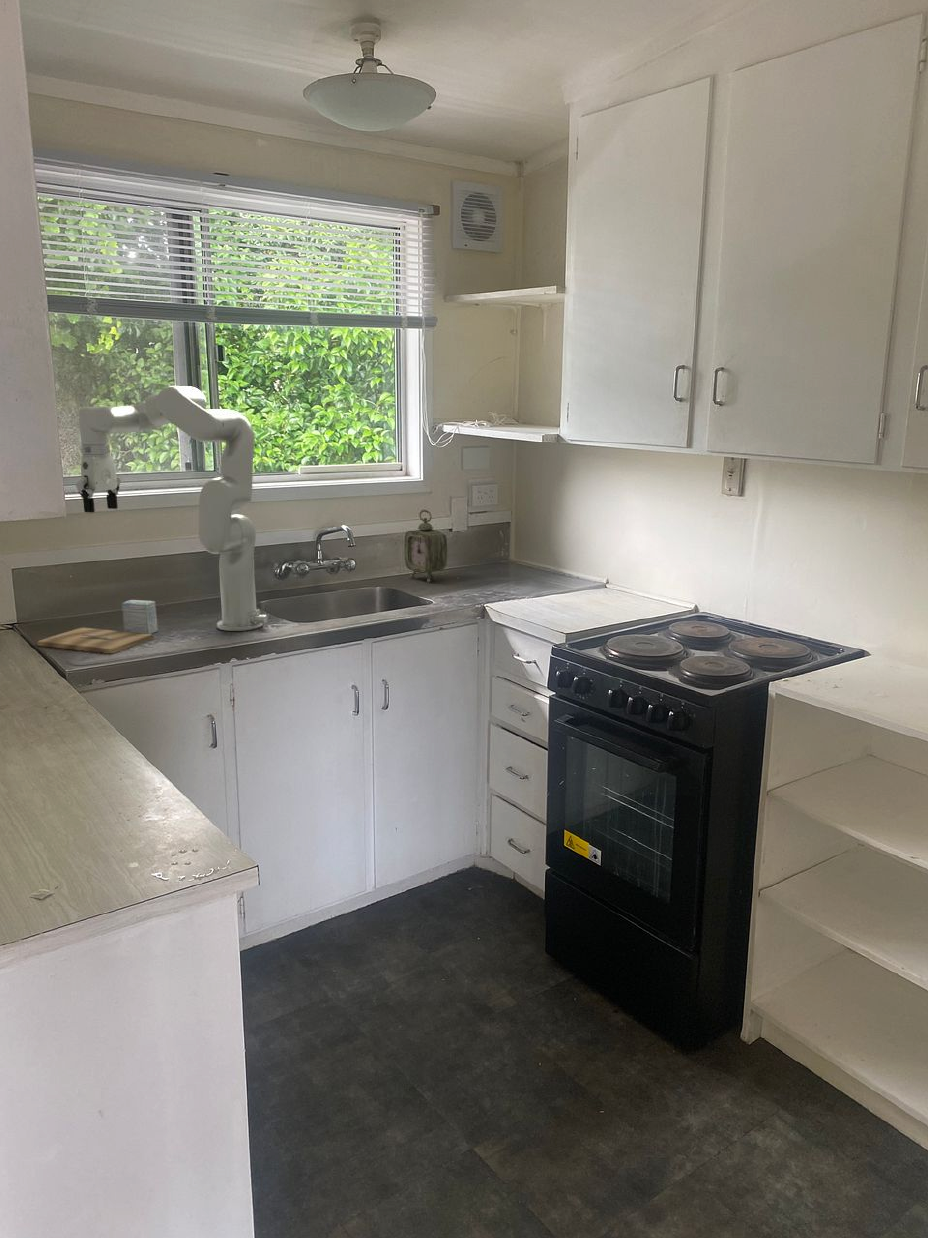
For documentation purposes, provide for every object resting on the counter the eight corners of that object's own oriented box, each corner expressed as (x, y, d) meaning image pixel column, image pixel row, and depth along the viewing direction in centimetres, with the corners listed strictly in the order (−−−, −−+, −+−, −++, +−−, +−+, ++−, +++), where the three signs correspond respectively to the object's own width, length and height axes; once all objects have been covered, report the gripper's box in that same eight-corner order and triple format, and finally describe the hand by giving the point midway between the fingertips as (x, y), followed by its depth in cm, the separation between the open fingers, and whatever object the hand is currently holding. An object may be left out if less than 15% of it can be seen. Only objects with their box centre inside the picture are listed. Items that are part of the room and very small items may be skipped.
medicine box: (158, 631, 257) (155, 600, 255) (148, 635, 253) (146, 604, 251) (133, 629, 259) (131, 599, 257) (123, 633, 255) (121, 602, 253)
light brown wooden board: (153, 638, 249) (153, 634, 248) (112, 653, 234) (112, 649, 234) (81, 631, 257) (81, 627, 256) (37, 645, 242) (37, 640, 242)
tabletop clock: (404, 578, 332) (403, 508, 327) (425, 575, 338) (424, 507, 332) (428, 584, 321) (427, 512, 315) (449, 581, 327) (448, 510, 321)
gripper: (85, 452, 257) (90, 514, 261) (126, 449, 273) (131, 507, 277) (63, 452, 259) (69, 513, 263) (105, 449, 275) (111, 506, 279)
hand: (101, 510), depth 270 cm, fingers open, 9 cm apart
